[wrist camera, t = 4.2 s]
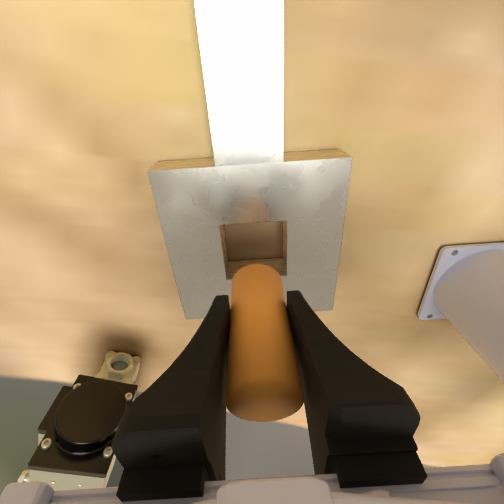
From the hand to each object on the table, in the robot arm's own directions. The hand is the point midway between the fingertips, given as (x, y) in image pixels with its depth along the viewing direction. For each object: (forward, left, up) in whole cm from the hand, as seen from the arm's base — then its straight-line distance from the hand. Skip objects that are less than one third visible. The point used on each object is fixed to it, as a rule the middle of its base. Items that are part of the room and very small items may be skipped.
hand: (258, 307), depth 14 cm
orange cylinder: (0, 0, -2) cm, 2 cm away
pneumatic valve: (+15, +14, -8) cm, 22 cm away
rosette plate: (0, -4, -8) cm, 9 cm away
